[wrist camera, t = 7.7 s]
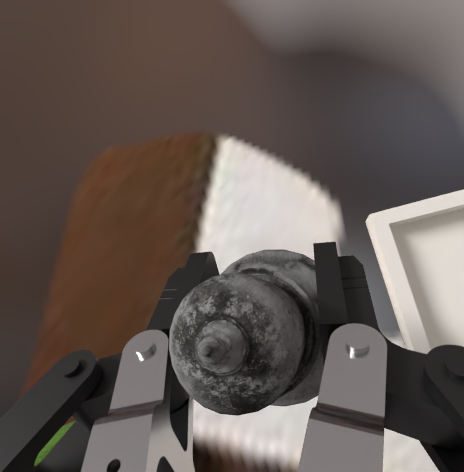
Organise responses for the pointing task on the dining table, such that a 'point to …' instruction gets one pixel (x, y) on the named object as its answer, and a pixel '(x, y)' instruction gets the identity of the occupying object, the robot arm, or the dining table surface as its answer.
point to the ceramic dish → (424, 268)
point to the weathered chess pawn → (251, 335)
